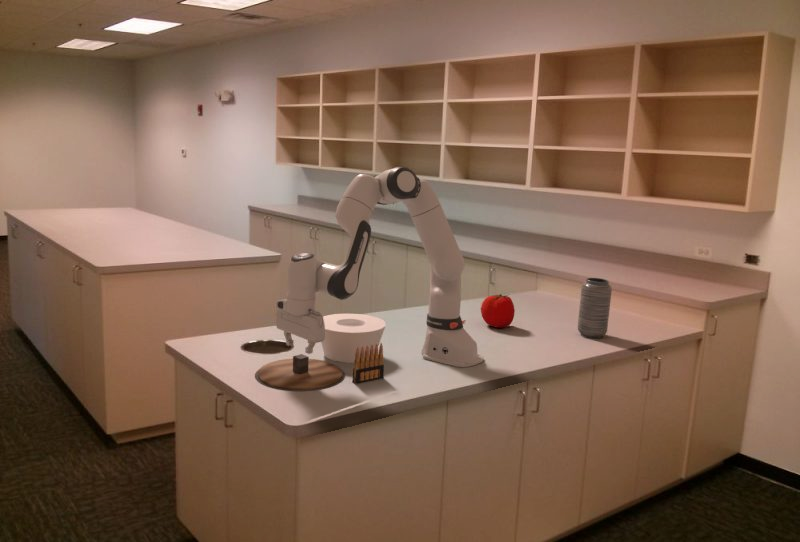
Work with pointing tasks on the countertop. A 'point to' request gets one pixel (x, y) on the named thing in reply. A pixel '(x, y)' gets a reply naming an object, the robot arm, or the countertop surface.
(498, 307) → the tomato
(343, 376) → the mat
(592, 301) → the vase
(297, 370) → the lid
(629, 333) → the countertop surface
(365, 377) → the ammunition clip
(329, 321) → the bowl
